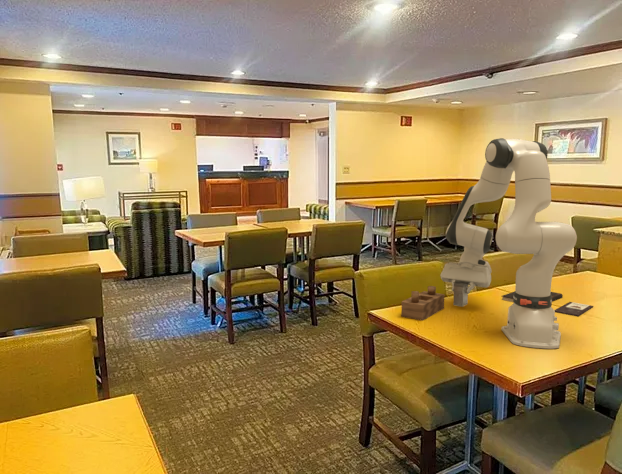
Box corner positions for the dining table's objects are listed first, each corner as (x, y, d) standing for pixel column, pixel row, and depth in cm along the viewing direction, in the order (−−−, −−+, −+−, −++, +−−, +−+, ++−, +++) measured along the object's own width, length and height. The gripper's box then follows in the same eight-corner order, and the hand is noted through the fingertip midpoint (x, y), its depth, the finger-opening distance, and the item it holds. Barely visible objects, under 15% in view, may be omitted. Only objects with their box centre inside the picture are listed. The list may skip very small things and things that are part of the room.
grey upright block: (463, 306, 192) (463, 285, 190) (453, 305, 194) (453, 283, 193) (467, 303, 196) (468, 282, 194) (457, 302, 198) (458, 281, 197)
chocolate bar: (553, 310, 188) (569, 301, 201) (553, 312, 189) (569, 303, 201) (578, 315, 182) (593, 306, 194) (578, 317, 182) (593, 308, 194)
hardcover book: (501, 300, 207) (501, 295, 207) (527, 292, 222) (527, 287, 221) (537, 308, 195) (537, 303, 195) (562, 298, 209) (562, 293, 209)
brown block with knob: (422, 320, 180) (423, 295, 178) (401, 316, 185) (401, 291, 184) (444, 308, 195) (444, 284, 194) (423, 304, 201) (424, 281, 199)
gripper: (444, 257, 204) (434, 284, 198) (492, 262, 192) (483, 291, 185) (448, 266, 208) (438, 292, 202) (495, 271, 196) (486, 299, 189)
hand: (460, 291), depth 194 cm, fingers closed on grey upright block, 4 cm apart
